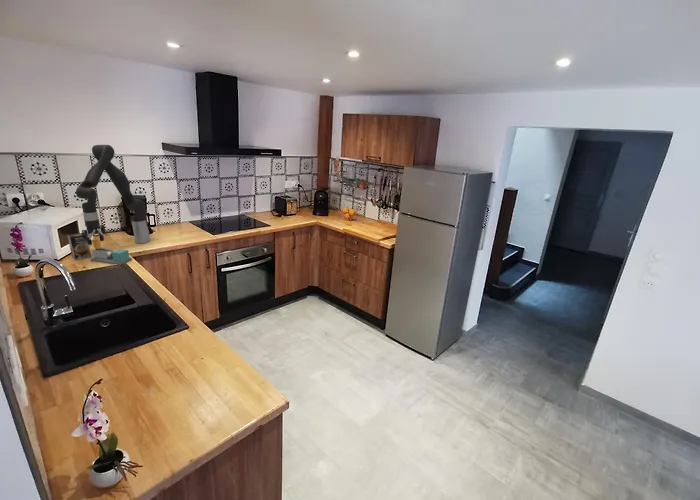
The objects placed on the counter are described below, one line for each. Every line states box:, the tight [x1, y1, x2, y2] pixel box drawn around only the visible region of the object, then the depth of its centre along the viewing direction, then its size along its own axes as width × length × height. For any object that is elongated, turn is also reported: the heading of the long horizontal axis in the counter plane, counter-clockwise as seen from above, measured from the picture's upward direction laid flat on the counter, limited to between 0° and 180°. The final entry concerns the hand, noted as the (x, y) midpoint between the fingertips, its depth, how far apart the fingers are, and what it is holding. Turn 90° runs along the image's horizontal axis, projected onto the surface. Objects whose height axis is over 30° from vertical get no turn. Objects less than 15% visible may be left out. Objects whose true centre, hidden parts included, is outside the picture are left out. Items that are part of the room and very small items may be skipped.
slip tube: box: [92, 239, 113, 258], centre depth 225 cm, size 12×4×11 cm, turn 78°
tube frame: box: [90, 246, 133, 266], centre depth 225 cm, size 22×10×8 cm, turn 78°
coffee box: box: [66, 232, 92, 261], centre depth 226 cm, size 9×6×16 cm
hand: (96, 242), depth 224 cm, fingers open, 8 cm apart
